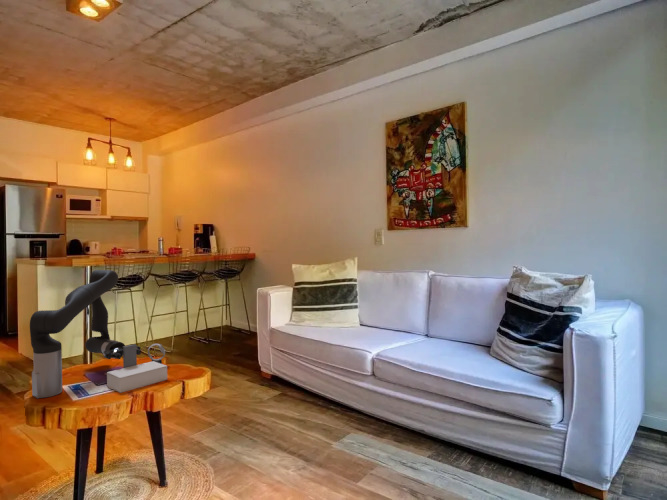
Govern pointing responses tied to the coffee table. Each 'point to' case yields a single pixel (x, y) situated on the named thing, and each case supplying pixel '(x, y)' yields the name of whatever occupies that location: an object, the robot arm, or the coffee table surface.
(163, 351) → the watch
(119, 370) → the light grey rectangular box
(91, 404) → the coffee table surface
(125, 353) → the dark grey upright bracket
